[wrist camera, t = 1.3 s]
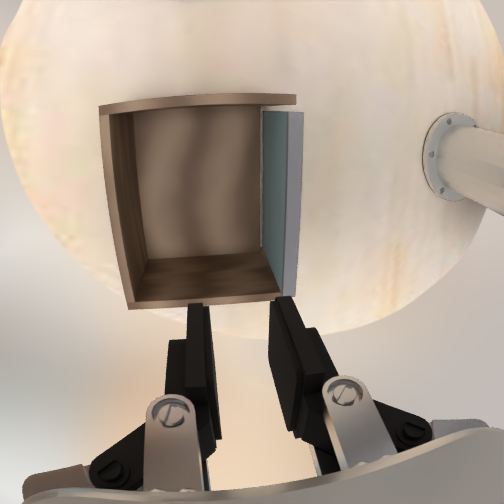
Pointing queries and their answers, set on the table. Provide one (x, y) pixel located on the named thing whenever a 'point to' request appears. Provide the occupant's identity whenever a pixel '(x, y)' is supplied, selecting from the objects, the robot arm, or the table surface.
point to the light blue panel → (282, 194)
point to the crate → (187, 198)
